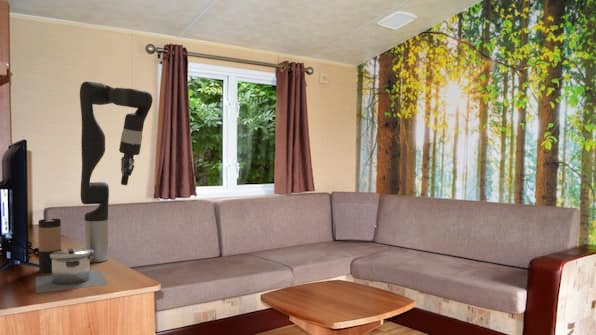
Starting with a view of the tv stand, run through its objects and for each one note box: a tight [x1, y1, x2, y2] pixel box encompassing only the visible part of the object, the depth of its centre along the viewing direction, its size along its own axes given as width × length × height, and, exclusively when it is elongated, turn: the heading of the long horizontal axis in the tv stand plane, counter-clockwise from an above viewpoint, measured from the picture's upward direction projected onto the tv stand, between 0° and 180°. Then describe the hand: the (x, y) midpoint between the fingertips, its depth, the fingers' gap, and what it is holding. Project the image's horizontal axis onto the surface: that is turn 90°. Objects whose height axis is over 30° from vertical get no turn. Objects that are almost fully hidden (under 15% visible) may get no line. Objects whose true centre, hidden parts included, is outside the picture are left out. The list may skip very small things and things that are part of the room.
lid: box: [50, 247, 95, 259], centre depth 166 cm, size 13×14×2 cm
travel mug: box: [38, 218, 62, 274], centre depth 179 cm, size 8×8×20 cm
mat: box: [34, 269, 109, 294], centre depth 166 cm, size 22×22×1 cm
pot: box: [51, 254, 93, 285], centre depth 166 cm, size 16×13×9 cm
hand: (123, 184), depth 182 cm, fingers closed
